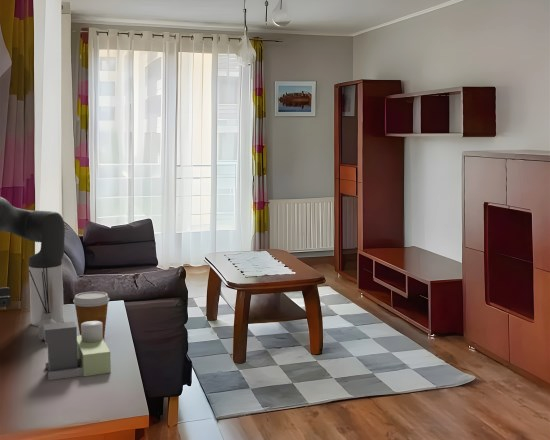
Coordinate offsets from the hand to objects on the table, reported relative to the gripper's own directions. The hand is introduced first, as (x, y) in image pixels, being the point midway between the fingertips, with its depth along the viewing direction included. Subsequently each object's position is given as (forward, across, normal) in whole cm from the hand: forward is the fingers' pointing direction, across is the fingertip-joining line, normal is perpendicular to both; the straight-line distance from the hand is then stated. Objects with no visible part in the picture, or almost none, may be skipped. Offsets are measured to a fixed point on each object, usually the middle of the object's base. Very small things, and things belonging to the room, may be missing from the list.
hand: (10, 296), depth 143 cm
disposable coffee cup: (+20, +19, +19) cm, 34 cm away
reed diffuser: (+8, +23, +19) cm, 31 cm away
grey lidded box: (+10, -5, +18) cm, 21 cm away
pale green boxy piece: (+13, -2, +18) cm, 23 cm away
